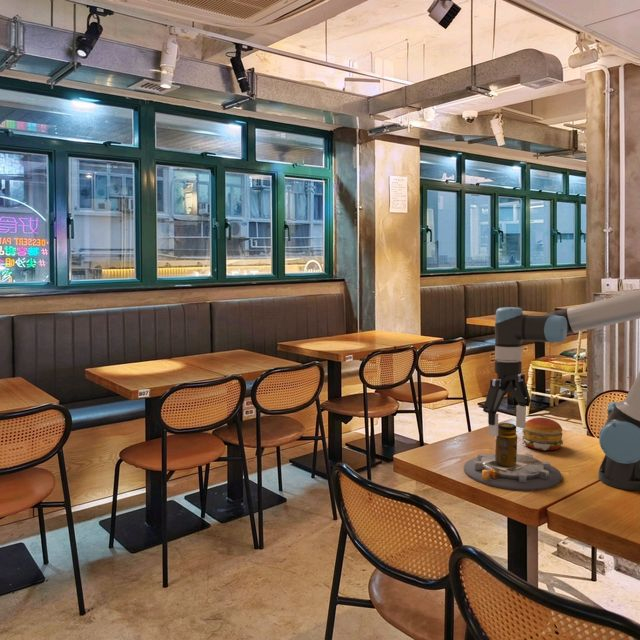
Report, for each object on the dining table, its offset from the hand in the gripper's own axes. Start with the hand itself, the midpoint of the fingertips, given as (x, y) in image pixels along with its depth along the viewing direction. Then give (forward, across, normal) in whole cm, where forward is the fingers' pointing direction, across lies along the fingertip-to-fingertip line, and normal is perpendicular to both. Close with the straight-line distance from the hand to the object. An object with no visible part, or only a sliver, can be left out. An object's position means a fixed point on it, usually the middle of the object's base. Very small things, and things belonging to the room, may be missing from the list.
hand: (507, 431), depth 183 cm
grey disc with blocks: (+12, -3, -1) cm, 13 cm away
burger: (+14, -34, -10) cm, 38 cm away
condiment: (+10, +1, 0) cm, 10 cm away
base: (+14, -3, -1) cm, 14 cm away
